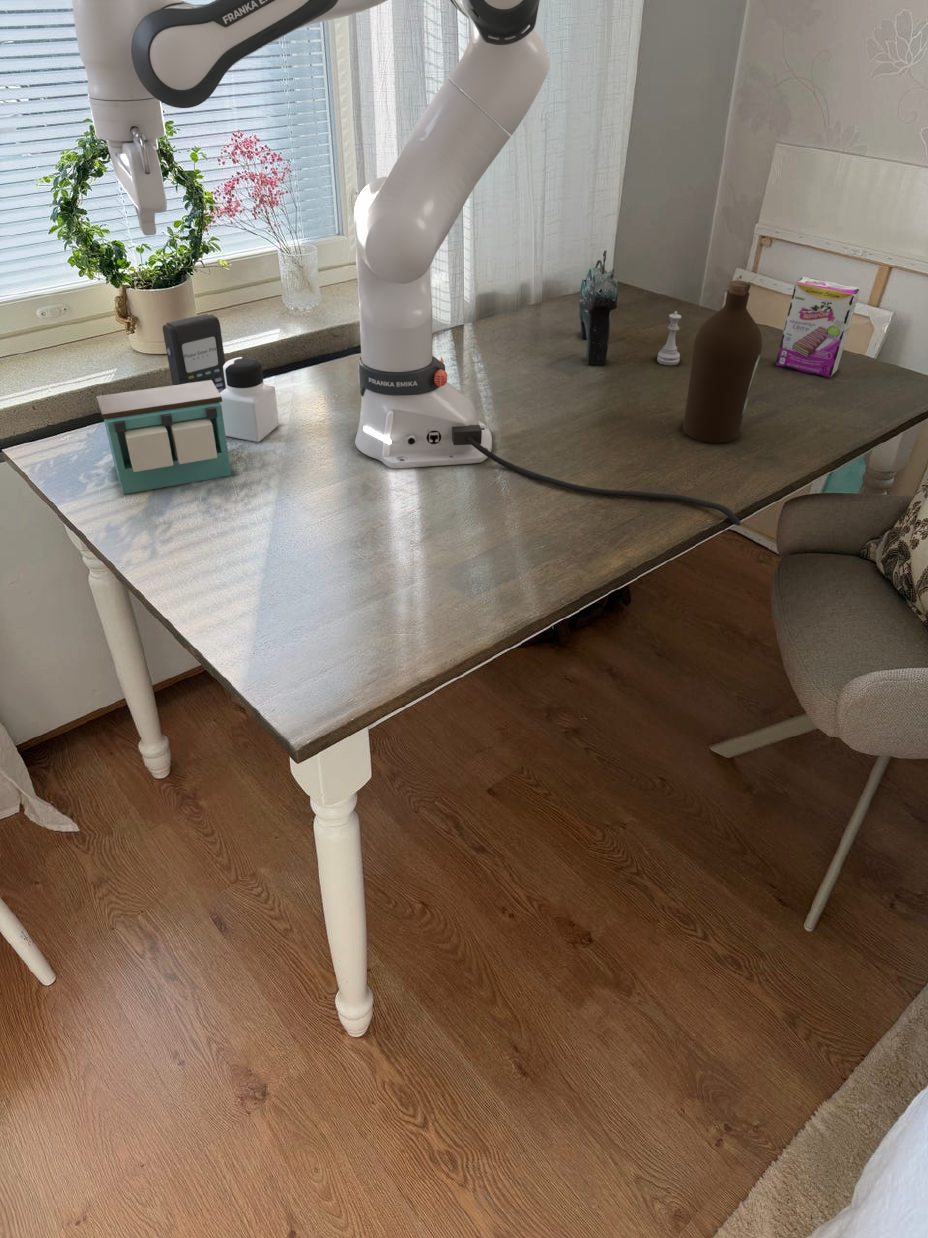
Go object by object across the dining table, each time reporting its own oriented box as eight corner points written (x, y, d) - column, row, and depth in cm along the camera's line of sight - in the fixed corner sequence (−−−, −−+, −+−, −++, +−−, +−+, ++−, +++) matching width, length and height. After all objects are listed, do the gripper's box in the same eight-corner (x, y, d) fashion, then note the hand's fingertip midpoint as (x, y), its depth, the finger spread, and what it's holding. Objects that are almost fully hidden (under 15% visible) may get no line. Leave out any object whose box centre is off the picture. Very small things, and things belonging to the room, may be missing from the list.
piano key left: (173, 465, 134) (167, 431, 131) (134, 472, 132) (126, 437, 129) (169, 455, 137) (163, 421, 134) (130, 461, 135) (123, 427, 132)
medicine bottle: (279, 425, 156) (272, 356, 148) (258, 443, 150) (250, 372, 143) (242, 418, 157) (233, 350, 150) (220, 435, 152) (210, 365, 145)
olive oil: (686, 445, 153) (715, 293, 138) (673, 418, 161) (698, 272, 146) (749, 445, 153) (784, 294, 138) (732, 418, 162) (763, 273, 147)
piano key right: (217, 457, 136) (212, 424, 133) (179, 464, 134) (173, 430, 131) (212, 448, 139) (207, 414, 136) (174, 454, 137) (168, 420, 134)
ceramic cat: (611, 369, 179) (624, 263, 167) (578, 368, 179) (589, 262, 167) (600, 333, 195) (612, 234, 183) (570, 332, 195) (579, 233, 183)
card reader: (185, 415, 158) (170, 329, 149) (174, 407, 160) (158, 322, 151) (232, 401, 163) (220, 317, 154) (221, 394, 165) (209, 311, 156)
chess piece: (662, 355, 185) (670, 305, 179) (682, 360, 183) (691, 310, 177) (653, 362, 182) (660, 311, 176) (673, 367, 180) (681, 316, 174)
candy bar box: (774, 366, 182) (794, 281, 172) (781, 358, 186) (801, 275, 176) (831, 379, 177) (854, 293, 168) (838, 371, 181) (861, 286, 171)
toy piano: (235, 477, 141) (224, 401, 133) (121, 497, 135) (103, 419, 128) (221, 450, 148) (210, 376, 140) (112, 468, 142) (94, 393, 135)
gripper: (168, 133, 113) (186, 250, 122) (141, 108, 128) (158, 213, 137) (115, 136, 111) (137, 254, 120) (93, 110, 126) (114, 217, 134)
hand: (148, 232), depth 128 cm, fingers closed
